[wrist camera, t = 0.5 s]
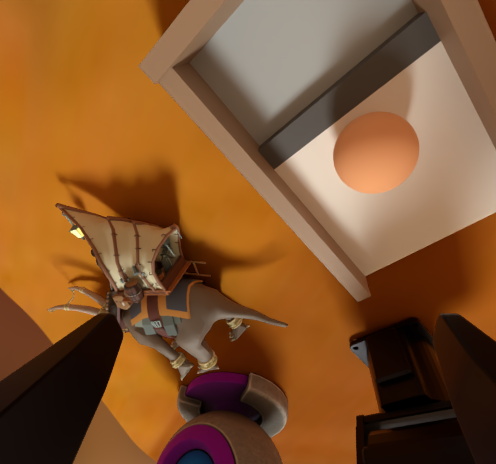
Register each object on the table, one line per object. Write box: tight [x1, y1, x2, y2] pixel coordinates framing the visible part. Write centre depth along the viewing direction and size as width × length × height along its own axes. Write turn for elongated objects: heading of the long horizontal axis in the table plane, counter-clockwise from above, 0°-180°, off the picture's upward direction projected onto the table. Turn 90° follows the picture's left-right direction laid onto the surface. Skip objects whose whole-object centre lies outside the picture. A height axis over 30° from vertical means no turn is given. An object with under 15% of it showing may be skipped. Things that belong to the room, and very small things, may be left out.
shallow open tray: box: [139, 0, 496, 302], centre depth 16 cm, size 19×12×4 cm, turn 42°
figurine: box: [47, 203, 288, 381], centre depth 24 cm, size 20×6×17 cm
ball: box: [333, 112, 419, 194], centre depth 15 cm, size 4×4×4 cm
